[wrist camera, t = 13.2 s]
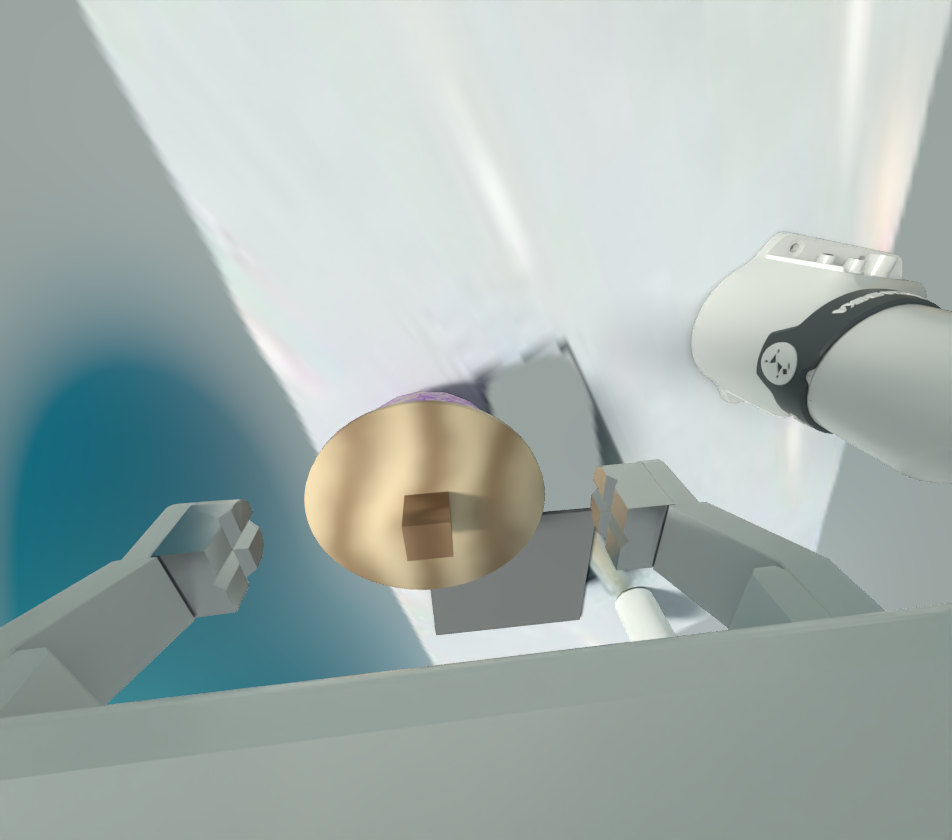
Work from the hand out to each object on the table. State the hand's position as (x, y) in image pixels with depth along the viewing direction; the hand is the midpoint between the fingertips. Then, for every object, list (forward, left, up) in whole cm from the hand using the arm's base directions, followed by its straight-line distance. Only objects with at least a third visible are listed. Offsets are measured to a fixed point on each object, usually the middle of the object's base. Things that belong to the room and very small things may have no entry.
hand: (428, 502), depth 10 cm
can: (-29, +53, -34) cm, 69 cm away
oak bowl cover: (+2, +19, -22) cm, 29 cm away
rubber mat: (-8, +44, -34) cm, 56 cm away
